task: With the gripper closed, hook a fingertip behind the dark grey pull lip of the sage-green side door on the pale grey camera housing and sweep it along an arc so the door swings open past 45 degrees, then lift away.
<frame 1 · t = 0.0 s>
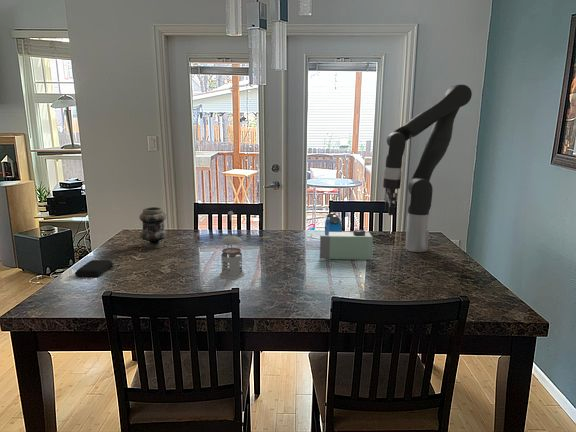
hand: (389, 213, 194), 17 cm above the table, tool pointing down, fingers open, 8 cm apart
camera housing: (349, 256, 186), on the table
side door: (346, 247, 181), point 6 cm above the table, hinge at 0.0°
apothecary jar: (154, 246, 200), on the table
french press: (231, 274, 164), on the table
alarm clock: (332, 244, 204), on the table
carrying case or bag: (96, 272, 166), on the table
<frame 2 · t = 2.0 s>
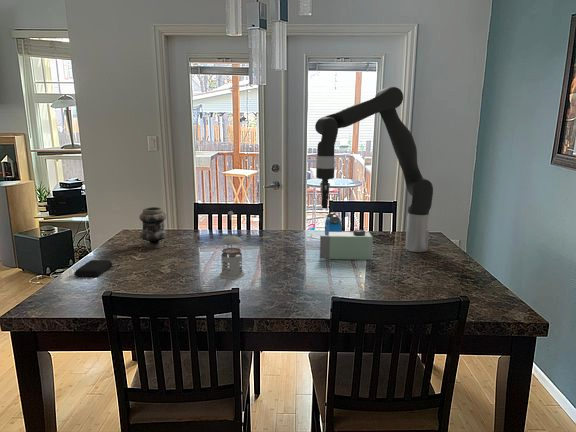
hand: (324, 206, 180), 22 cm above the table, tool pointing down, fingers open, 5 cm apart
nothing on the table moved.
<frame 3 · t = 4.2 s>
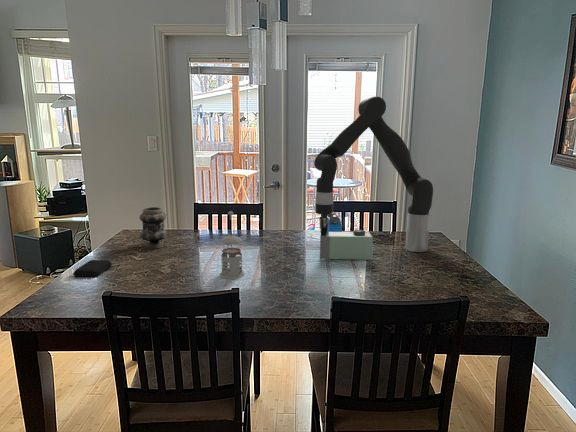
hand: (323, 241, 183), 7 cm above the table, tool pointing down, fingers closed
side door: (346, 247, 180), point 6 cm above the table, hinge at 0.4°, touching gripper
everything else where it was.
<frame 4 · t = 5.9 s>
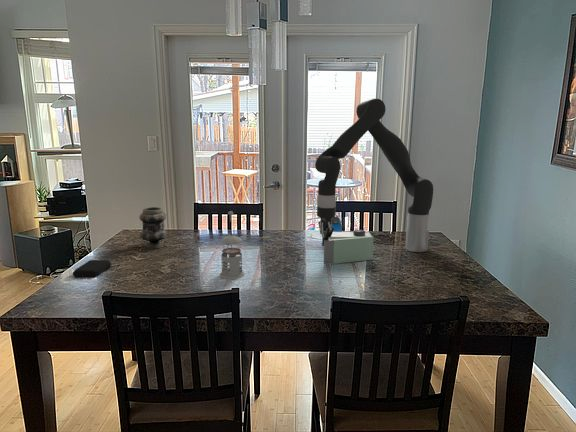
hand: (325, 246, 177), 7 cm above the table, tool pointing down, fingers closed
side door: (348, 250, 177), point 6 cm above the table, hinge at 19.2°, touching gripper
everything else where it was.
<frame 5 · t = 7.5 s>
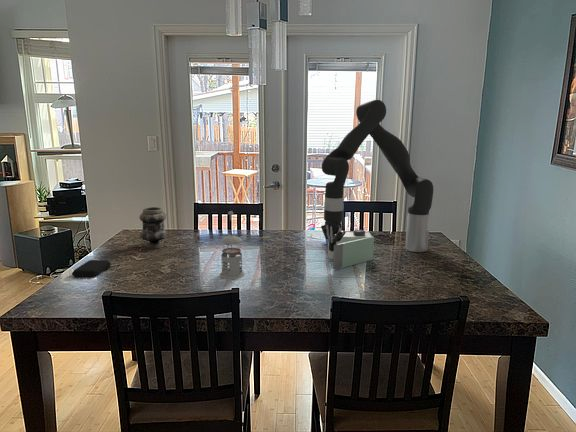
hand: (332, 250, 171), 7 cm above the table, tool pointing down, fingers closed
side door: (354, 252, 174), point 6 cm above the table, hinge at 38.2°, touching gripper
everything else where it was.
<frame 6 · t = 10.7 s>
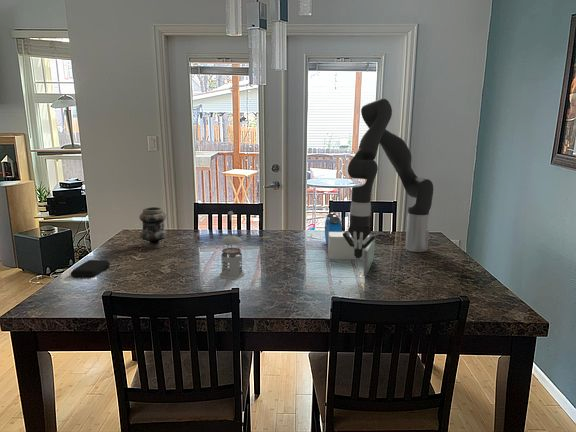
hand: (358, 257, 162), 7 cm above the table, tool pointing down, fingers closed
side door: (369, 255, 170), point 6 cm above the table, hinge at 73.2°, touching gripper
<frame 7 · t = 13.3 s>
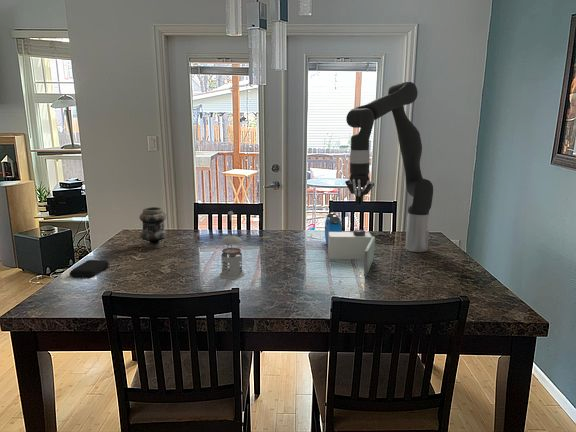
hand: (359, 205, 169), 25 cm above the table, tool pointing down, fingers closed
side door: (369, 255, 170), point 6 cm above the table, hinge at 73.5°
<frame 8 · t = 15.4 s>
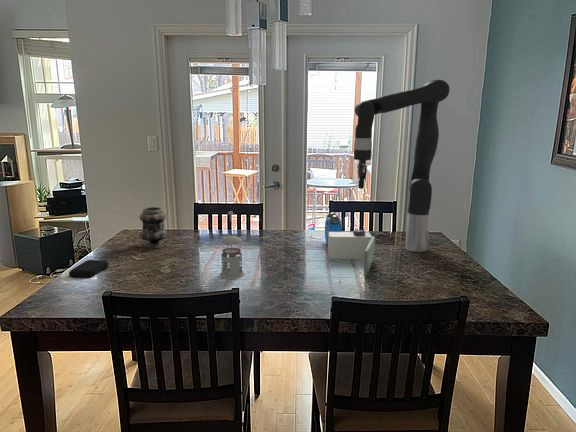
hand: (361, 188, 188), 29 cm above the table, tool pointing down, fingers closed
at the end: side door at +74° (first picture: +0°); alarm clock moved 0.2 cm from its start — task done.
